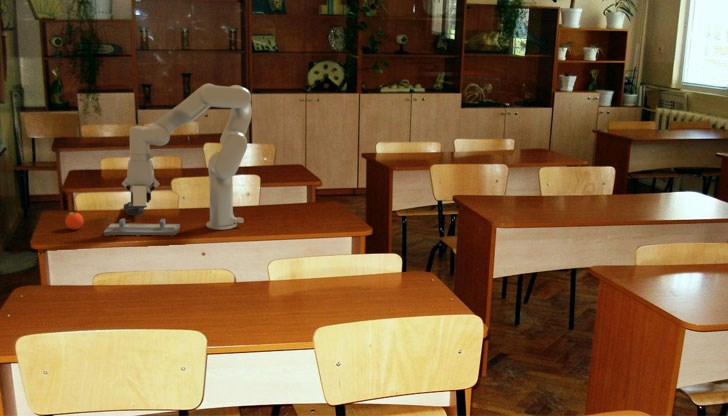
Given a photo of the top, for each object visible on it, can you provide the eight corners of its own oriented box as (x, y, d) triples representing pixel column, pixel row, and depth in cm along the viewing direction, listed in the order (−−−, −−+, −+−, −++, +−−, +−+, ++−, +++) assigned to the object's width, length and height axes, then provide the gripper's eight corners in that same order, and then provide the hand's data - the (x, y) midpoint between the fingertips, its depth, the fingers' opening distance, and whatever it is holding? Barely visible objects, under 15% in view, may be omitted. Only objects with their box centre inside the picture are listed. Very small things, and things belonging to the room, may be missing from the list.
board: (179, 227, 314) (179, 224, 314) (175, 235, 302) (175, 232, 301) (111, 227, 311) (110, 223, 311) (103, 235, 299) (103, 231, 298)
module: (149, 202, 307) (148, 182, 306) (145, 206, 301) (145, 185, 299) (136, 201, 307) (135, 182, 305) (133, 205, 300) (132, 185, 298)
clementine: (59, 230, 304) (58, 213, 303) (71, 226, 311) (70, 209, 309) (76, 232, 302) (75, 215, 301) (87, 228, 309) (86, 211, 307)
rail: (175, 226, 310) (175, 219, 309) (174, 229, 305) (174, 221, 305) (111, 226, 307) (110, 218, 306) (108, 229, 303) (108, 221, 302)
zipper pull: (126, 206, 320) (122, 193, 342) (127, 221, 321) (123, 208, 344) (148, 205, 323) (142, 193, 346) (148, 220, 325) (143, 206, 347)
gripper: (163, 156, 304) (164, 200, 308) (120, 155, 302) (121, 199, 306) (160, 159, 297) (161, 204, 301) (115, 158, 295) (117, 203, 299)
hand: (141, 201), depth 304 cm, fingers closed on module, 5 cm apart
